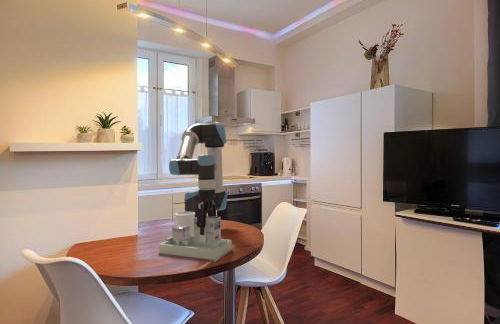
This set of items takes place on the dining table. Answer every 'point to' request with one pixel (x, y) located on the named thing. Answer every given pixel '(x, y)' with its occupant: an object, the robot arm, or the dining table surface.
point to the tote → (198, 249)
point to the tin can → (181, 236)
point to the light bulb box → (209, 230)
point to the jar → (185, 220)
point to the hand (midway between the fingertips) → (207, 239)
